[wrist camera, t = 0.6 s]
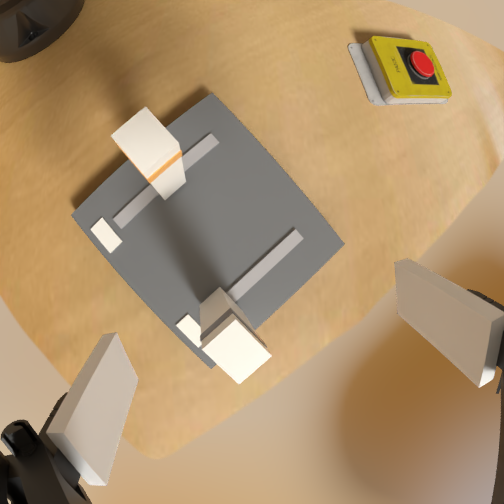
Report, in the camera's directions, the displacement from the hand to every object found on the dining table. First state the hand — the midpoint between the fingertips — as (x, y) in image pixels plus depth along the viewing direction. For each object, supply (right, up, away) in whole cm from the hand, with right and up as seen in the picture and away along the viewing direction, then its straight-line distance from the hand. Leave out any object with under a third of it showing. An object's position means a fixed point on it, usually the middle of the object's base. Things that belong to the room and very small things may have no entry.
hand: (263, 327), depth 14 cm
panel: (-5, +5, +17) cm, 19 cm away
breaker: (-3, -2, +15) cm, 16 cm away
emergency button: (+20, +27, +21) cm, 40 cm away
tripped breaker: (-8, +10, +14) cm, 19 cm away
